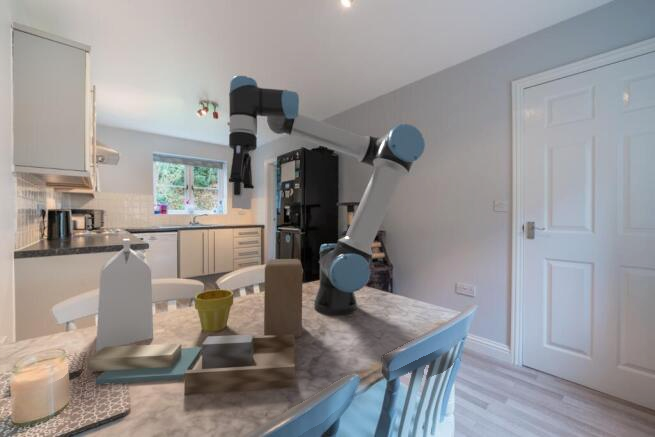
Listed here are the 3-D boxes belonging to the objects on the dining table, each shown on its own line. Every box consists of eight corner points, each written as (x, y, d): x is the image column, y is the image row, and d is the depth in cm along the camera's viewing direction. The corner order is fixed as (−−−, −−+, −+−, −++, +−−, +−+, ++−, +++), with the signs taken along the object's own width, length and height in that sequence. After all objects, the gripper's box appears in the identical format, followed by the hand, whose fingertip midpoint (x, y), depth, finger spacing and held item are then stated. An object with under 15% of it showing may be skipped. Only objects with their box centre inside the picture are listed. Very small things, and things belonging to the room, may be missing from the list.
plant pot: (219, 337, 72) (220, 300, 72) (186, 333, 74) (186, 298, 74) (239, 322, 82) (240, 290, 82) (209, 319, 84) (210, 288, 84)
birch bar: (181, 354, 61) (181, 343, 61) (171, 366, 56) (171, 354, 56) (104, 358, 59) (104, 347, 59) (86, 371, 54) (86, 359, 54)
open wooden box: (294, 350, 65) (294, 323, 65) (294, 387, 51) (295, 352, 51) (208, 355, 63) (208, 326, 63) (184, 395, 49) (184, 358, 49)
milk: (99, 333, 74) (99, 238, 73) (149, 323, 81) (150, 237, 80) (96, 351, 64) (96, 242, 64) (153, 338, 71) (153, 240, 71)
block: (302, 338, 72) (302, 264, 72) (263, 341, 70) (264, 265, 70) (299, 323, 82) (300, 258, 81) (266, 325, 80) (266, 258, 80)
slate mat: (202, 351, 64) (202, 347, 64) (183, 379, 54) (183, 374, 54) (129, 355, 62) (129, 350, 62) (95, 384, 51) (95, 379, 51)
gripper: (238, 145, 88) (237, 209, 89) (217, 118, 64) (216, 207, 64) (261, 146, 89) (260, 209, 90) (249, 120, 65) (249, 207, 65)
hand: (242, 208), depth 77 cm, fingers open, 13 cm apart
